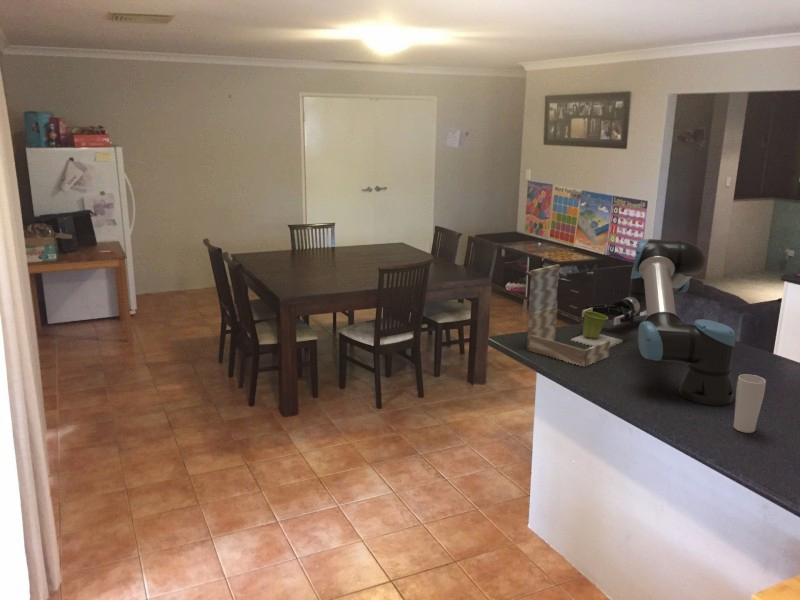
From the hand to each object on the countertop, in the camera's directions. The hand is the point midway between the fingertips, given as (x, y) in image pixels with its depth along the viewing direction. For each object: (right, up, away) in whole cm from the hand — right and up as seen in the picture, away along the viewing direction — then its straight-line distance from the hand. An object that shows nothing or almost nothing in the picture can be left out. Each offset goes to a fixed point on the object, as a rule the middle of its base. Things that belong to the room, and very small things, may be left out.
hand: (598, 317), depth 252 cm
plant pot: (-2, -7, +4) cm, 9 cm away
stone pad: (0, -9, +1) cm, 9 cm away
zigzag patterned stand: (-15, -13, -12) cm, 23 cm away
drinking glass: (+19, -29, -71) cm, 79 cm away
